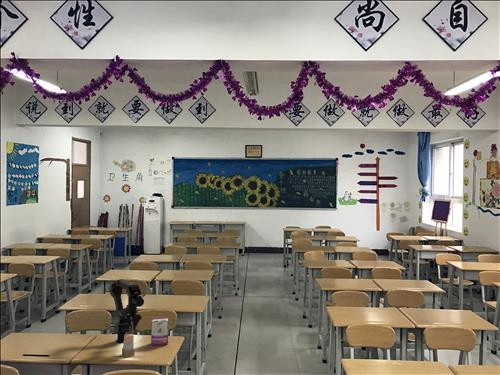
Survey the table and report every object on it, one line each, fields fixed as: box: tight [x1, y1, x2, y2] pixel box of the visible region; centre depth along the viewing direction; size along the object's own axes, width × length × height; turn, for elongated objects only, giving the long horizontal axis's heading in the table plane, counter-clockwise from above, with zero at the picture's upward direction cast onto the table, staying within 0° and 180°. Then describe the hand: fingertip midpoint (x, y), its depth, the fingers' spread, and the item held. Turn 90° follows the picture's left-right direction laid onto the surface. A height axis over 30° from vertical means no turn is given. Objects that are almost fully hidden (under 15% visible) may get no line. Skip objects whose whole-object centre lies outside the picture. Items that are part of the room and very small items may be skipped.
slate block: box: [122, 342, 135, 351], centre depth 275 cm, size 5×5×4 cm
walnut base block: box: [121, 347, 136, 358], centre depth 275 cm, size 6×6×4 cm
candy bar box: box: [150, 318, 169, 346], centre depth 295 cm, size 11×5×16 cm, turn 101°
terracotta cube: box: [124, 333, 134, 344], centre depth 275 cm, size 4×4×4 cm
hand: (131, 327), depth 288 cm, fingers open, 9 cm apart
